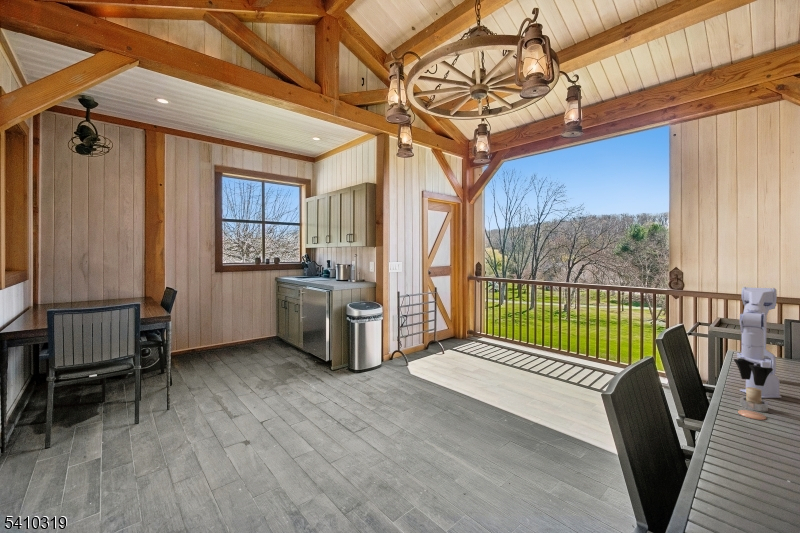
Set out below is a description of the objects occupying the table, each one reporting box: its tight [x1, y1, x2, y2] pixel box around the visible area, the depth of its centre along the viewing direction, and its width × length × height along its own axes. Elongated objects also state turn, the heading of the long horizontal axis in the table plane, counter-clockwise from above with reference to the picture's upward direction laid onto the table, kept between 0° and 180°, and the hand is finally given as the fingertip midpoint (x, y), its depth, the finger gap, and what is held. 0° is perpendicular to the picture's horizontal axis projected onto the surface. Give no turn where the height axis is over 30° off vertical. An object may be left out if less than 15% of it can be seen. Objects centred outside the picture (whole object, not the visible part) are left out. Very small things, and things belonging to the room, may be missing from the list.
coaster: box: [737, 409, 767, 421], centre depth 121 cm, size 7×7×1 cm
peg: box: [745, 386, 763, 404], centre depth 127 cm, size 4×4×7 cm
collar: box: [739, 396, 769, 413], centre depth 128 cm, size 7×7×2 cm
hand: (752, 382), depth 125 cm, fingers open, 7 cm apart
